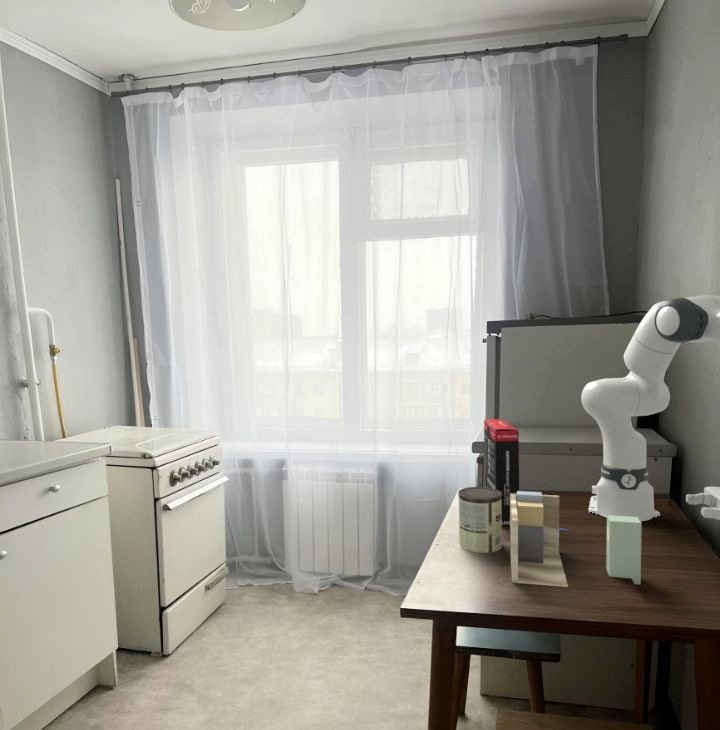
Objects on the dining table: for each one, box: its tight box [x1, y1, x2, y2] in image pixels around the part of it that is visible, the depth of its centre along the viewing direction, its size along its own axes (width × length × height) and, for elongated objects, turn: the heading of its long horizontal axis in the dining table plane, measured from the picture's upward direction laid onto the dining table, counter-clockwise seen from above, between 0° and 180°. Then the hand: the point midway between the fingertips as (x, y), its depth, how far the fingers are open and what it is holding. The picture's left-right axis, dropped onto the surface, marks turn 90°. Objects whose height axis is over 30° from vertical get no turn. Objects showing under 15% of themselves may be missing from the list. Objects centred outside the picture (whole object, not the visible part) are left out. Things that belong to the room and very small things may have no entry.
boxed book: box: [605, 515, 642, 585], centre depth 124 cm, size 4×6×13 cm, turn 77°
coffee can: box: [457, 486, 503, 554], centre depth 141 cm, size 10×10×14 cm
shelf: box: [509, 493, 569, 588], centre depth 129 cm, size 20×11×14 cm, turn 167°
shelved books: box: [517, 490, 543, 527], centre depth 134 cm, size 7×6×14 cm
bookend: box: [518, 526, 544, 563], centre depth 132 cm, size 4×6×8 cm
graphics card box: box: [483, 418, 520, 527], centre depth 162 cm, size 17×7×27 cm, turn 179°
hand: (694, 505), depth 120 cm, fingers open, 8 cm apart
